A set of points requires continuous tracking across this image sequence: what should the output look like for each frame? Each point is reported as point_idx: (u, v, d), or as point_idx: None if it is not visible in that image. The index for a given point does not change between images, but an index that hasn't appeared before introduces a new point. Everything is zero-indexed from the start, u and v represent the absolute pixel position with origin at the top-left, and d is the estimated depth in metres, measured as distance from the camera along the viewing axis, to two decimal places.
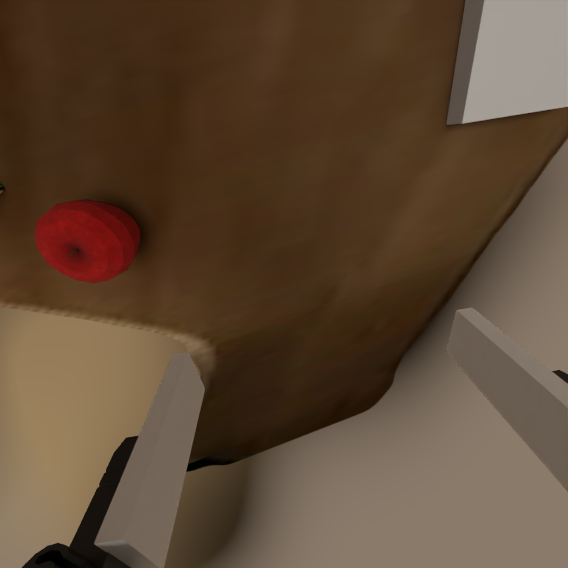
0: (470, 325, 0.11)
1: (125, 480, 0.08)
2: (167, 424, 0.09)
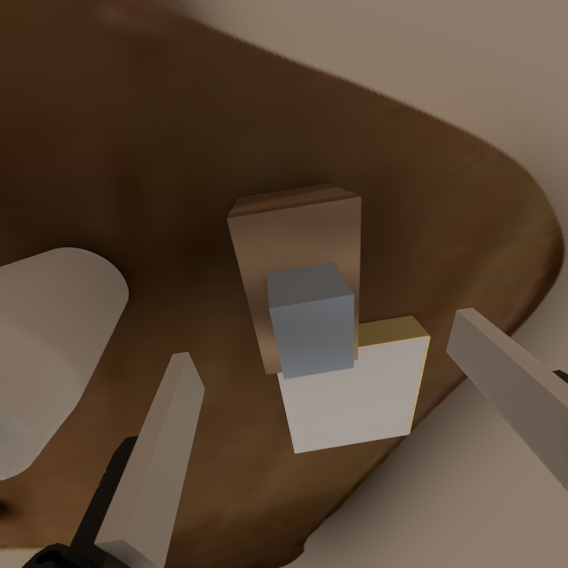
0: (470, 325, 0.11)
1: (125, 480, 0.08)
2: (167, 424, 0.09)
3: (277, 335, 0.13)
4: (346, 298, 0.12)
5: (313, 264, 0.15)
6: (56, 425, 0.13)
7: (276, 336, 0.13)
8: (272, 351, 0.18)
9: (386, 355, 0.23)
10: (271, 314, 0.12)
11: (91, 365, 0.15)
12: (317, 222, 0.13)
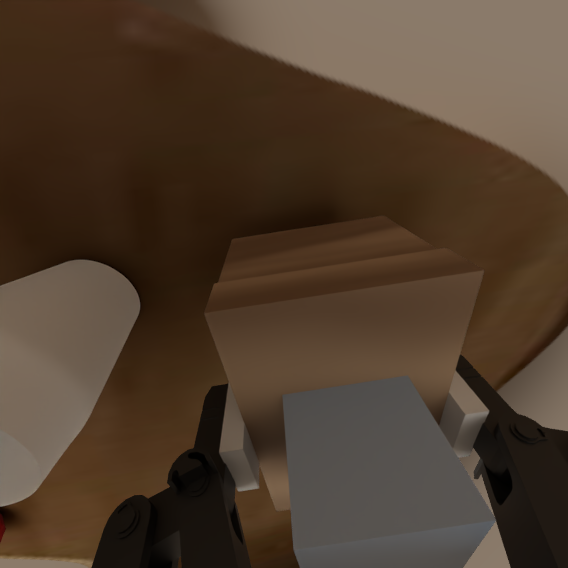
0: None
1: (229, 411, 0.09)
2: None
3: None
4: (476, 525, 0.05)
5: (369, 379, 0.08)
6: (63, 449, 0.12)
7: None
8: (287, 487, 0.11)
9: None
10: (298, 555, 0.05)
11: (100, 384, 0.14)
12: (386, 316, 0.07)
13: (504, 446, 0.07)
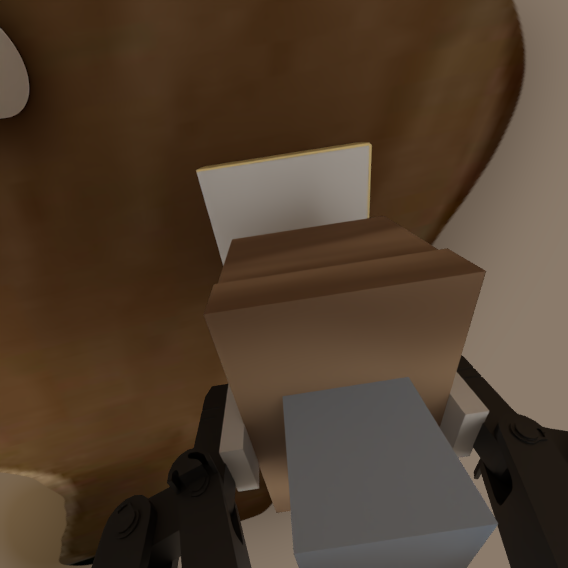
0: None
1: (229, 411, 0.09)
2: None
3: None
4: (477, 529, 0.05)
5: (369, 381, 0.08)
6: None
7: None
8: (287, 488, 0.11)
9: (324, 173, 0.21)
10: (298, 559, 0.05)
11: None
12: (387, 317, 0.07)
13: (504, 446, 0.07)
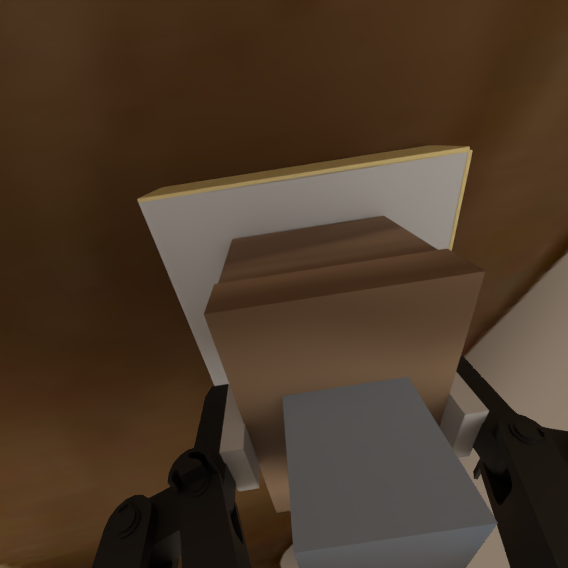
0: None
1: (229, 411, 0.09)
2: None
3: None
4: (477, 528, 0.05)
5: (369, 381, 0.08)
6: None
7: None
8: (287, 488, 0.11)
9: (378, 202, 0.11)
10: (298, 558, 0.05)
11: None
12: (387, 317, 0.07)
13: (503, 446, 0.07)
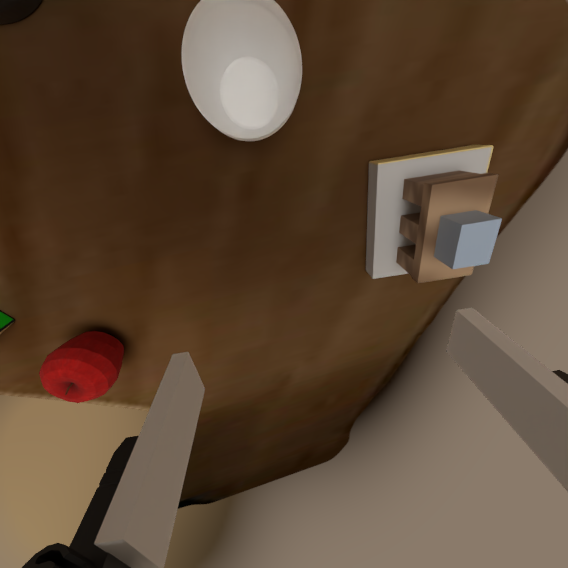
0: (470, 325, 0.11)
1: (125, 480, 0.08)
2: (167, 424, 0.09)
3: (459, 240, 0.26)
4: (497, 220, 0.25)
5: (465, 211, 0.28)
6: None
7: (459, 241, 0.26)
8: (426, 266, 0.31)
9: (458, 165, 0.31)
10: (462, 228, 0.25)
11: (293, 99, 0.23)
12: (474, 187, 0.27)
13: None
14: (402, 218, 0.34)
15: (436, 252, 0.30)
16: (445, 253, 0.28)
